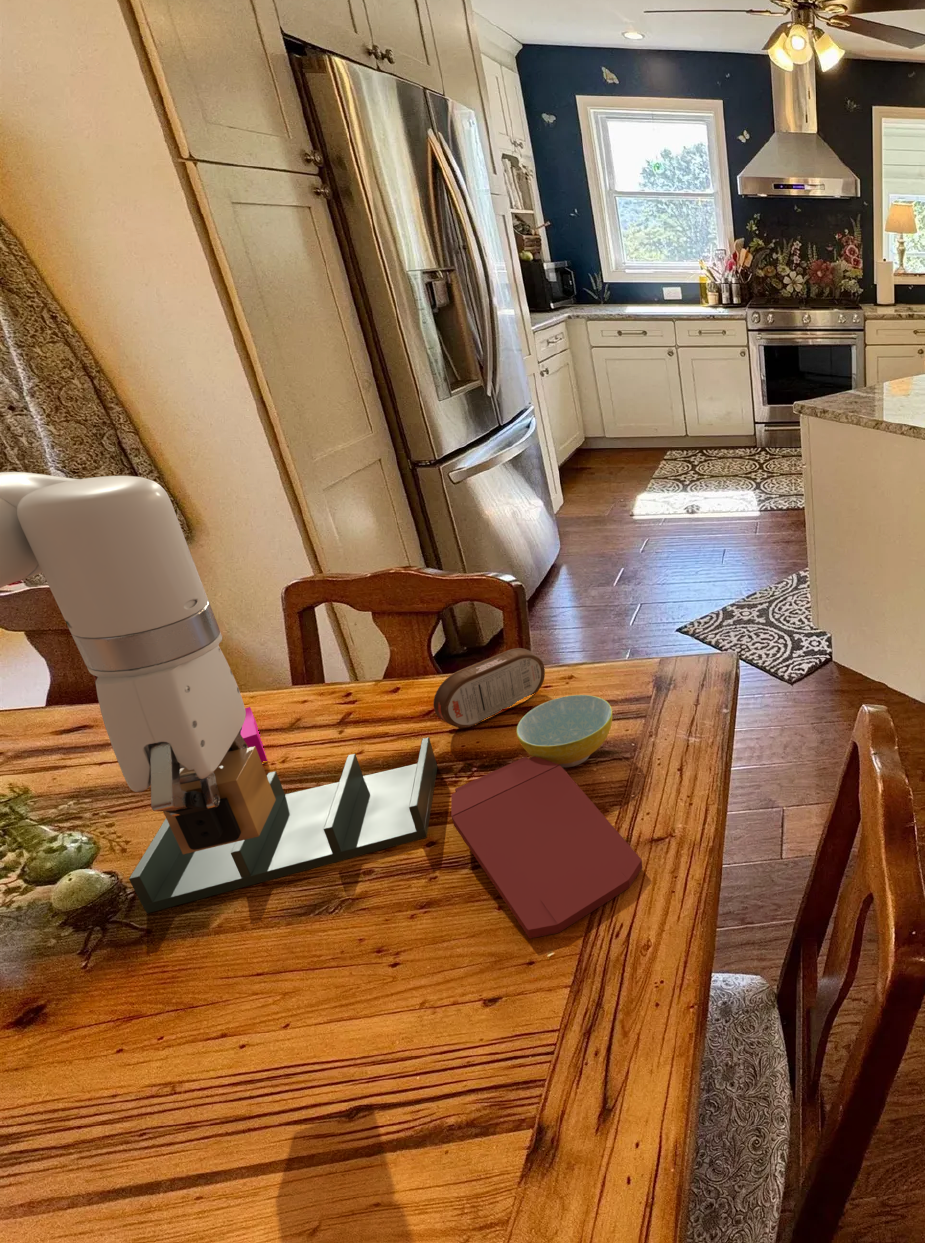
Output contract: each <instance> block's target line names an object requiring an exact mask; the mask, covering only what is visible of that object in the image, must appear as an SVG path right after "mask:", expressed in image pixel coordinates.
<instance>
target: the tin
mask: <svg viewBox="0 0 925 1243" xmlns="http://www.w3.org/2000/svg"><path fill="white" fill-rule="evenodd" d="M544 668H545V664H544V662H543V660H542V659H541V658H540V657H539V656H537V655H536V654H534V653H533V652H532V651H530V650H529V649H526V648H521V647H518V648H512V649H508V650H506V651H503V652H501V653H498V654H496V655H494V656H491V657H489V658H486V659H484V660H481V661H479V662H476V663H474V664H472V665H469V666H467V667H464V668H462V669H459V670H457V671H455V672H453V673H451V675H449V676H448V677H446V679H445V680H443V682H442V683H441V684H440V685H439V686H438V689H437V690H436V692H435V694H434V698H433V710H434V713H435V715H436V717H438V718H439V719H440V720H441V721H443V722H446V723H447V724H449V725H450V726H451V727H454V728H459V729H468V728H472V727H474V726H473V725H475V724H477V723H479V722H481V721H482V720H484V719H486V718H488V717H490V716H492V715H495V714H496V713H498V712H499V711H501V710H502V709H505V708H507V707H510V706H512V705H513V704H515V703H516V702H517V701H519V700H521V699H523V698H524V697H527V696H529V695H532V694H534V693H536V692H537V693H538V692H539V690H540V689H541V688H542V686H543V684H544V681H545V678H546V677H545V676H546V668H545V669H544ZM537 693H536V694H537ZM471 726H472V727H471ZM475 726H476V725H475Z"/></svg>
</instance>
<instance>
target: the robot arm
mask: <svg viewBox="0 0 925 1243" xmlns="http://www.w3.org/2000/svg"><path fill="white" fill-rule="evenodd" d="M39 574H43V576H44V579H45V581H46V583H47V585H48V587H49V590H50V591H51V593H52V596H53V598H54V600H55V603H56V605H57V606H58V609H59V611H60V613H61V615H62V618H63V619H64V621H65V623H66V626H67V628H68V630H69V632H70V633H71V636H72V639H73V640H74V643H75V645H76V647H77V649H78V651H79V653H80V656H81V658H82V660H83V662H84V665H85V666H86V668H87V670H88V672H89V674H90V675H92V676H95V677H96V680H95V688H96V695H97V700H98V704H99V709H100V714H101V717H102V721H103V724H104V727H105V730H106V734H107V736H108V740H109V741H110V745H111V748H112V750H113V754H114V755H115V758H116V761H117V763H118V765H119V768H120V770H121V773H122V776H123V778H124V780H125V782H126V785H127V786H128V787H129V789H130V790H131V791H132V792H134V793H142V792H145V791H146V790H149V788H150V806H151V810H152V811H153V812H163V811H166V812H169V813H170V815H171V816H172V817H176V820H177V822H178V824H179V826H180V828H181V831H182V833H183V835H184V837H185V839H186V842H187V844H188V846H189V848H190V849H193V850H197V849H201V848H205V847H210V846H214V845H218V844H222V843H226V842H231V841H235V840H237V839H238V838H239V836H240V834H241V831H240V828H239V826H238V823H237V821H236V819H235V816H234V814H233V811H232V809H231V806H230V804H229V802H228V799H227V798H223V799H220V796H219V791H218V787H217V783H216V778H215V774H214V770H215V769H216V768H217V767H218V765H219V764H220V762H221V761H222V759H223V758H224V756H225V755H226V753H227V752H229V751H234V750H239V749H244V748H248V746H247V744H246V742H245V741H244V739H243V738H242V736H241V730H242V725H243V723H244V721H245V716H246V711H245V708H246V707H245V704H244V701H243V700H244V699H243V697H242V694H241V691H240V689H239V688H240V687H239V686H238V683H237V680H236V679H235V675H234V674H233V672H232V669H231V667H230V665H229V663H228V660H227V658H226V656H225V655H224V653H223V651H222V649H221V647H220V643H222V642H223V634H222V633H221V632H222V631H221V630H220V627H219V624H218V622H217V619H216V615H215V613H214V611H213V609H212V605H211V603H210V601H209V598H208V596H207V595H208V594H207V593H206V590H205V587H204V585H203V582H202V580H201V577H200V576H201V575H200V574H199V572H198V569H197V566H196V563H195V560H194V558H193V556H192V553H191V550H190V547H189V545H188V542H187V540H186V537H185V534H184V532H183V529H182V527H181V524H180V522H179V519H178V516H177V513H176V511H175V508H174V506H173V503H172V500H171V498H170V496H169V495H168V492H167V491H166V490H165V488H163V486H162V485H161V484H159V483H158V482H156V481H154V480H153V479H149V478H146V477H143V476H135V475H105V476H95V477H94V476H93V477H86V478H73V477H63V476H56V475H51V474H50V475H49V474H43V473H35V472H26V471H25V472H24V471H1V472H0V589H1V588H4V587H6V586H9V585H10V584H14V583H16V582H19V581H22V580H25V579H27V578H31V577H34V576H36V575H39ZM181 768H187V769H188V770H193V769H194V771H191V772H187V773H182V774H180V769H181ZM199 780H200V784H201V788H202V793H201V792H197V791H190V792H186V791H182V789H181V787H180V784H185V783H190V782H194V781H199Z"/></svg>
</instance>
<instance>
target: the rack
mask: <svg viewBox="0 0 925 1243" xmlns="http://www.w3.org/2000/svg"><path fill="white" fill-rule="evenodd" d="M420 743H421V744H420V748H419V754H418V757H417V758H418V759H417V763H413V764H409V765H404V766H401V767H397V768H392V769H388V770H383V771H379V772H376V773H370V774H366V775H364V774H363V772H362V769H361V766H360V763H359V760H358V757H357V754H356V753H352V754H347V757H346V760H345V763H344V766H343V769H342V772H341V775H340V778H339V781H337V782H332V783H327V784H324V785H320V786H315V787H311V788H307V789H303V790H298V791H294V792H291V793H285V791H284V789H283V788H284V787H283V786H282V783H281V780H280V777H279V775H278V773H277V771H276V770H275V771H271V772H267V773H266V775H267V778H268V781H269V783H270V786H271V788H272V791H273V794H274V796H275V799H276V801H275V803H274V805H273V807H272V809H271V811H270V814H269V816H268V818H267V820H266V822H265V824H264V827H263V829H262V831H261V833H260V835H259V836H258V837H254V838H250V839H246V840H241V841H237V842H233V843H229V844H225V845H220V846H216V847H212V848H208V849H204V850H199V851H195V852H191V853H187V854H183V853H182V851H181V849H180V847H179V845H178V843H177V840H176V838H175V836H174V834H173V832H172V830H171V827H170V825H169V823H168V821H167V819H166V818H165V819H164V821H163V822H162V824H161V826H160V827H159V829H158V830H157V832H156V833H155V835H154V837H153V839H152V840H151V842H150V843H149V845H148V847H147V848H146V849H145V852H144V853H143V855H142V857H141V858H140V860H139V861H138V863H137V865H136V866H135V868H134V870H133V871H132V873H131V874H130V877H129V878H128V880H129V882H130V885H131V887H132V888H133V890H134V892H135V894H136V896H137V898H138V900H139V901H140V904H141V906H142V908H143V910H144V911H145V913H146V914H151V913H154V912H157V911H161V910H165V909H169V908H172V907H176V906H180V905H184V904H187V903H191V902H194V901H198V900H201V899H202V900H203V899H205V898H209V897H213V896H216V895H217V896H218V895H221V894H224V893H227V892H231V891H235V890H238V889H242V888H246V887H249V886H253V885H257V884H260V883H264V882H268V881H271V880H276V879H279V878H282V877H287V876H290V875H294V874H298V873H300V872H304V871H308V870H311V869H312V870H313V869H316V868H320V867H323V866H326V865H330V864H335V863H337V862H341V861H345V860H349V859H352V858H356V857H360V856H363V855H367V854H370V853H375V852H379V851H381V850H385V849H389V848H393V847H397V846H400V845H404V844H407V843H412V842H416V841H418V840H419V841H420V840H422V839H425V838H428V832H429V826H430V818H431V813H432V812H431V811H432V807H433V806H432V805H433V798H434V792H435V785H436V778H437V774H438V773H437V772H438V763H437V760H436V756H435V752H434V749H433V746H432V742H431V739H430V737H423V738H421V742H420Z"/></svg>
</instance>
